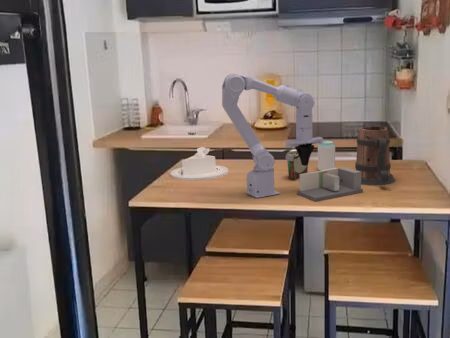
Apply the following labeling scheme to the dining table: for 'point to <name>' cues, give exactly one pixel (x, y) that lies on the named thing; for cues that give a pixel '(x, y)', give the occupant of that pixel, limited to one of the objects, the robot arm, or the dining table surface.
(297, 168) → the food container
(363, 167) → the tankard
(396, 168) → the dining table surface
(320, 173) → the base
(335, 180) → the grey rectangular block
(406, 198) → the dining table surface
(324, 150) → the can
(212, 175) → the dish
